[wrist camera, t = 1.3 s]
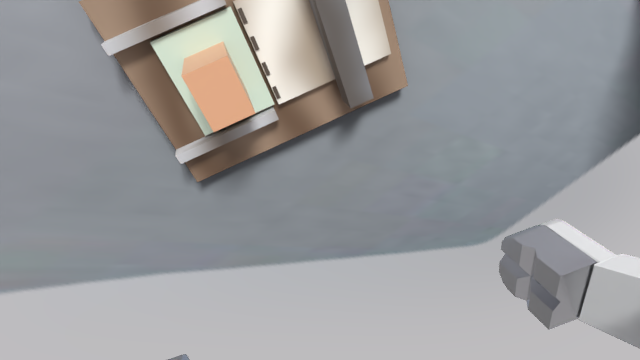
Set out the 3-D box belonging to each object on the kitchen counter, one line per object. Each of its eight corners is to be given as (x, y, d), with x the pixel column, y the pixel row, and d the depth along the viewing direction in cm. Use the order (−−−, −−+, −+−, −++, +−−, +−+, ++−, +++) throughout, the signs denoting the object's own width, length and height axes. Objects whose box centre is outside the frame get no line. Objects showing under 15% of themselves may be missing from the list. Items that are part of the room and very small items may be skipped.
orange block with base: (230, 6, 27) (236, 15, 22) (273, 101, 31) (286, 127, 26) (150, 41, 27) (140, 57, 22) (205, 133, 31) (206, 163, 26)
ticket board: (353, -116, 27) (376, -128, 23) (400, 81, 35) (422, 94, 31) (84, -1, 26) (66, 5, 22) (197, 174, 34) (197, 197, 30)
